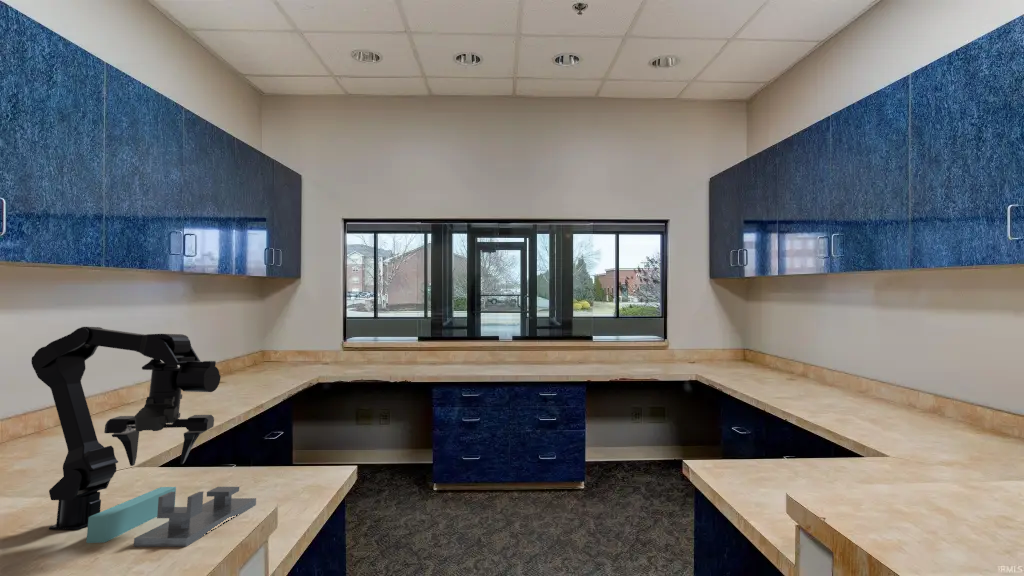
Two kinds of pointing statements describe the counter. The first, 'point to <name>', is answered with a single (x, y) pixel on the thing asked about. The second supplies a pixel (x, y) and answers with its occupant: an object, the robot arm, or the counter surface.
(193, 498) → the bracket stand
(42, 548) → the counter surface
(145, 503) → the teal rail
